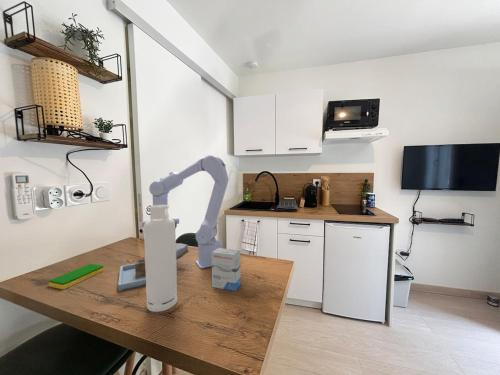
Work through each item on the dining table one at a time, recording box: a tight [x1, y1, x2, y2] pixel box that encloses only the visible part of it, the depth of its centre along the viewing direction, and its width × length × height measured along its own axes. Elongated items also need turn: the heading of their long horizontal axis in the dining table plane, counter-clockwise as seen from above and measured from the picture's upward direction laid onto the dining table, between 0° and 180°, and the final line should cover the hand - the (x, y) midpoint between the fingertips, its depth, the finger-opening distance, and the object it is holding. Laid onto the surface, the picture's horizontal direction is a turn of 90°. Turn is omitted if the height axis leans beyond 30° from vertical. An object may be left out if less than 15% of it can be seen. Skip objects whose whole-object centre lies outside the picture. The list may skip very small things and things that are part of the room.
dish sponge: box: [48, 263, 105, 290], centre depth 75 cm, size 7×14×2 cm, turn 163°
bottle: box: [143, 205, 178, 313], centre depth 59 cm, size 8×8×28 cm
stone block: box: [176, 242, 189, 259], centre depth 97 cm, size 12×5×10 cm
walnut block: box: [134, 258, 146, 278], centre depth 76 cm, size 4×4×5 cm
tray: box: [117, 263, 146, 292], centre depth 76 cm, size 14×16×2 cm
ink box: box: [211, 247, 242, 292], centre depth 68 cm, size 8×5×12 cm, turn 71°
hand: (161, 241), depth 88 cm, fingers open, 7 cm apart
